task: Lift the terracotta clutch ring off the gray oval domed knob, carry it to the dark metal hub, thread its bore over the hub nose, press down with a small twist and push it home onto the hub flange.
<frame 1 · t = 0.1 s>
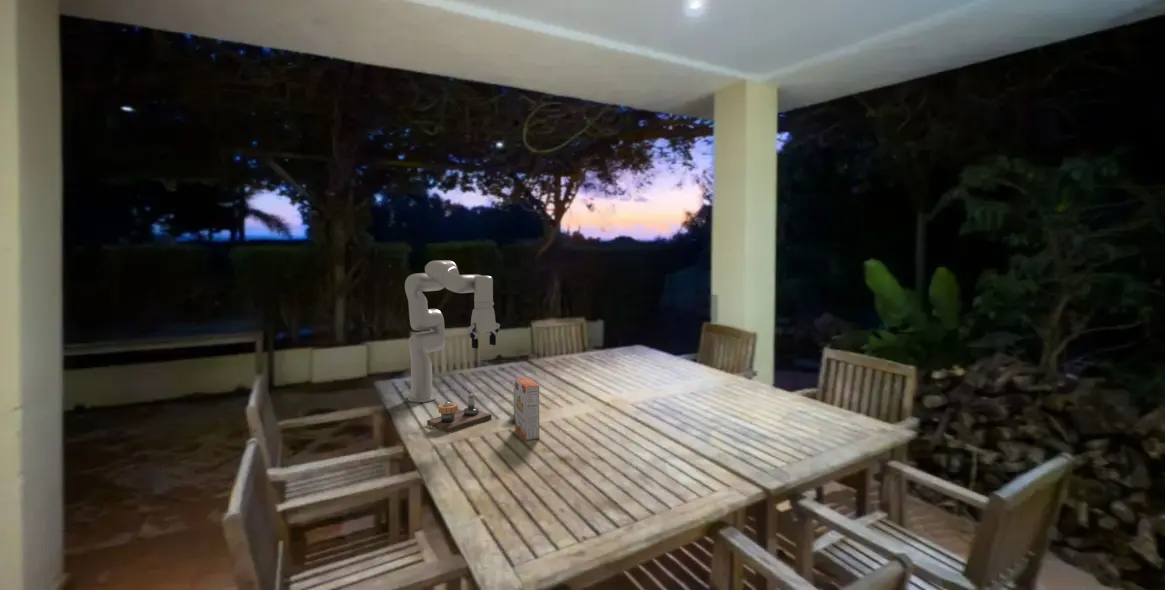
hand: (483, 346, 219), 31 cm above the table, tool pointing down, fingers open, 9 cm apart
clutch ring: (447, 411, 213), point 6 cm above the table, touching gray oval domed knob
cracker box: (526, 434, 205), on the table
gray oval domed knob: (447, 425, 214), resting on base board
supplement box: (523, 414, 230), on the table
hub: (471, 418, 223), resting on base board
base board: (459, 422, 218), on the table
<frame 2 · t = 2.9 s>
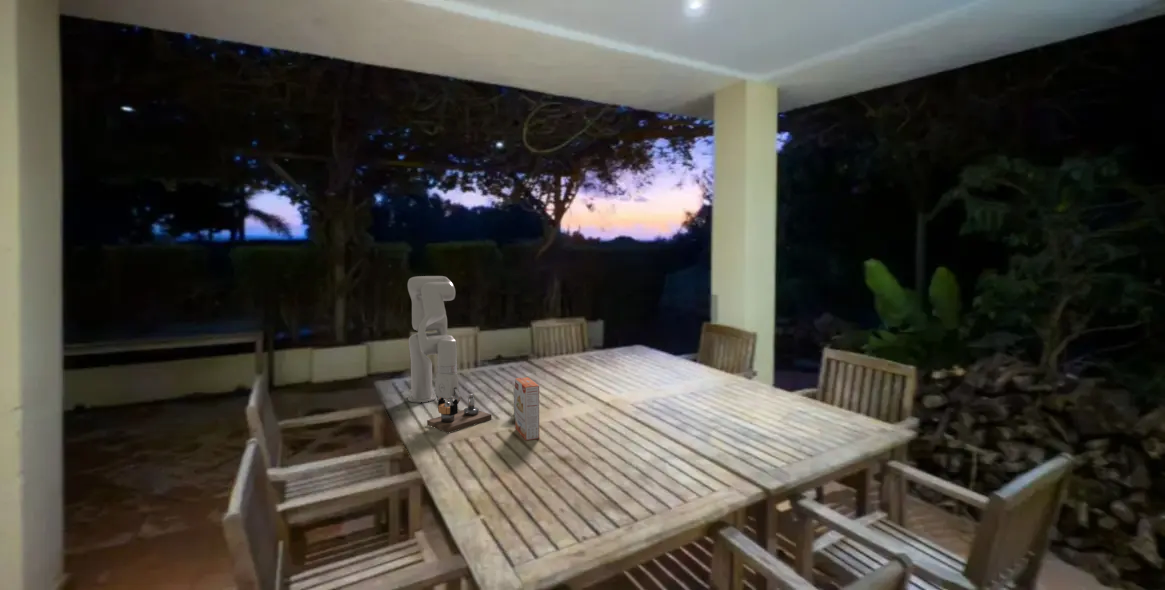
hand: (447, 412, 213), 6 cm above the table, tool pointing down, fingers closed on clutch ring, 7 cm apart
clutch ring: (447, 411, 213), point 6 cm above the table, touching gripper, gray oval domed knob
everything else where it was.
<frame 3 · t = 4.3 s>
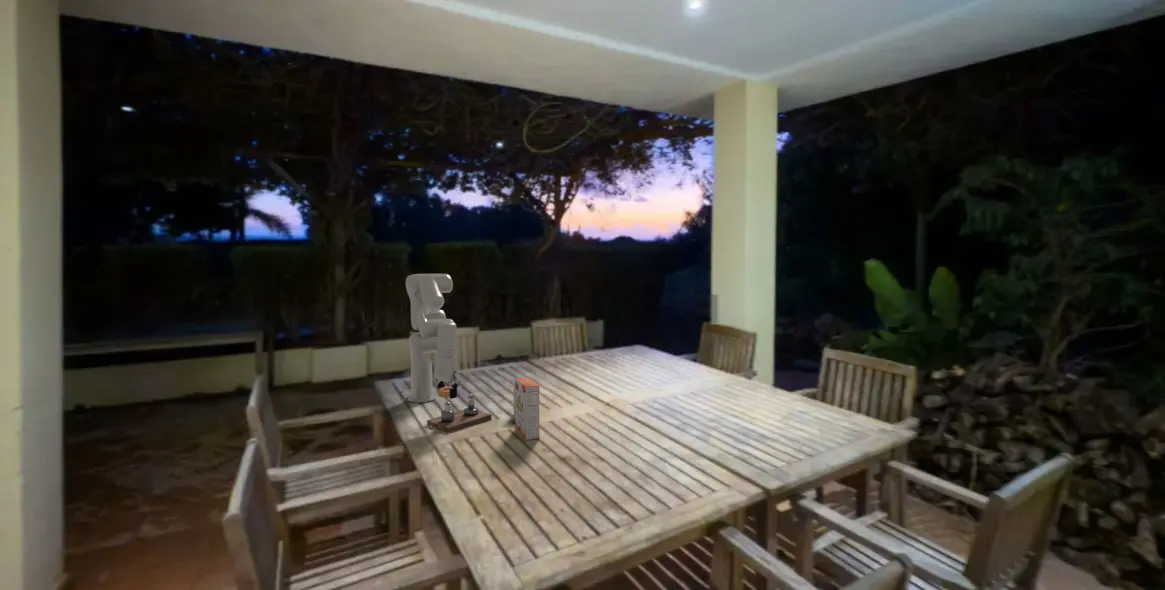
hand: (447, 395, 213), 12 cm above the table, tool pointing down, fingers closed on clutch ring, 7 cm apart
clutch ring: (447, 394, 213), point 13 cm above the table, touching gripper
everything else where it was.
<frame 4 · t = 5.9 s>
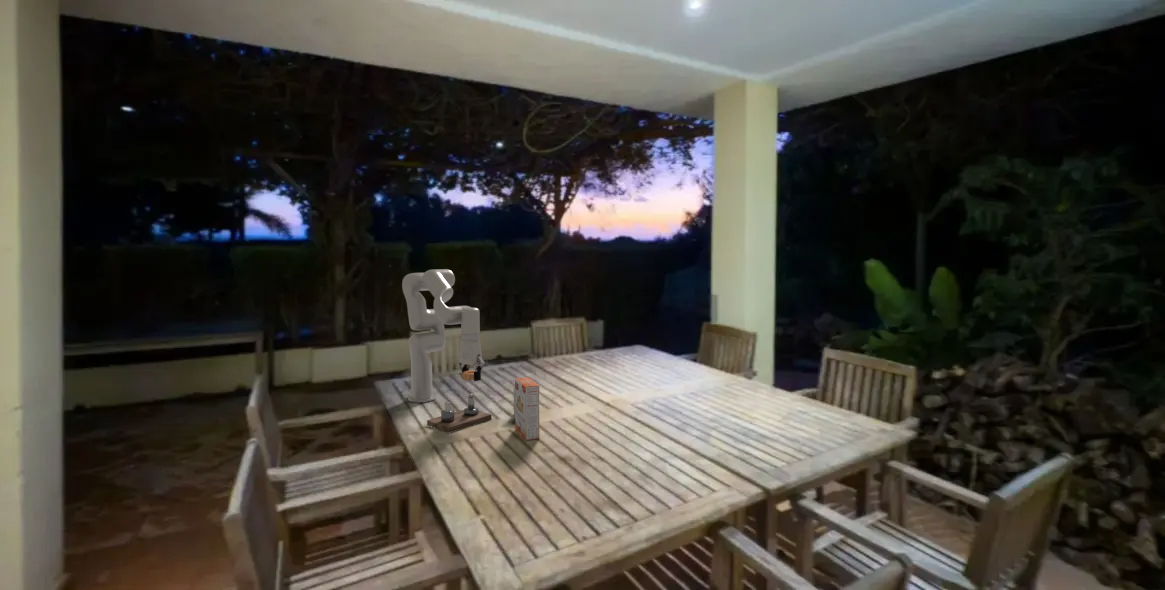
hand: (471, 378, 221), 17 cm above the table, tool pointing down, fingers closed on clutch ring, 7 cm apart
clutch ring: (471, 378, 221), point 18 cm above the table, touching gripper
everything else where it was.
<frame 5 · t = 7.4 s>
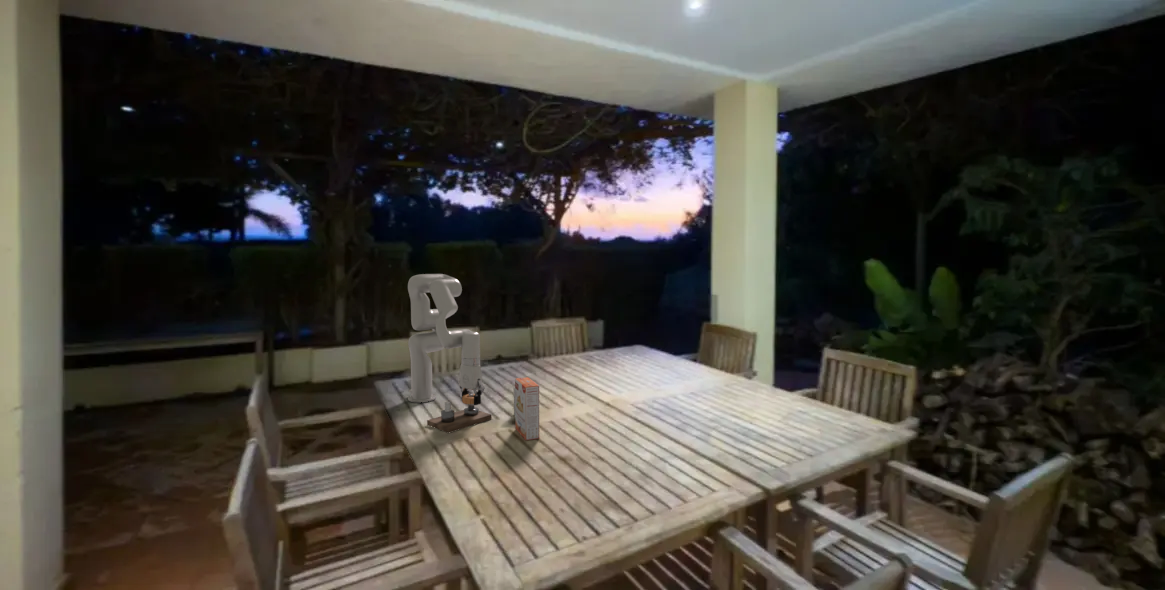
hand: (471, 402, 222), 7 cm above the table, tool pointing down, fingers closed on clutch ring, 7 cm apart
clutch ring: (471, 401, 222), point 7 cm above the table, touching gripper
everything else where it was.
when the fingers open (4 cm above the table, at t = 8.9 s): clutch ring stays where it is, resting on hub.
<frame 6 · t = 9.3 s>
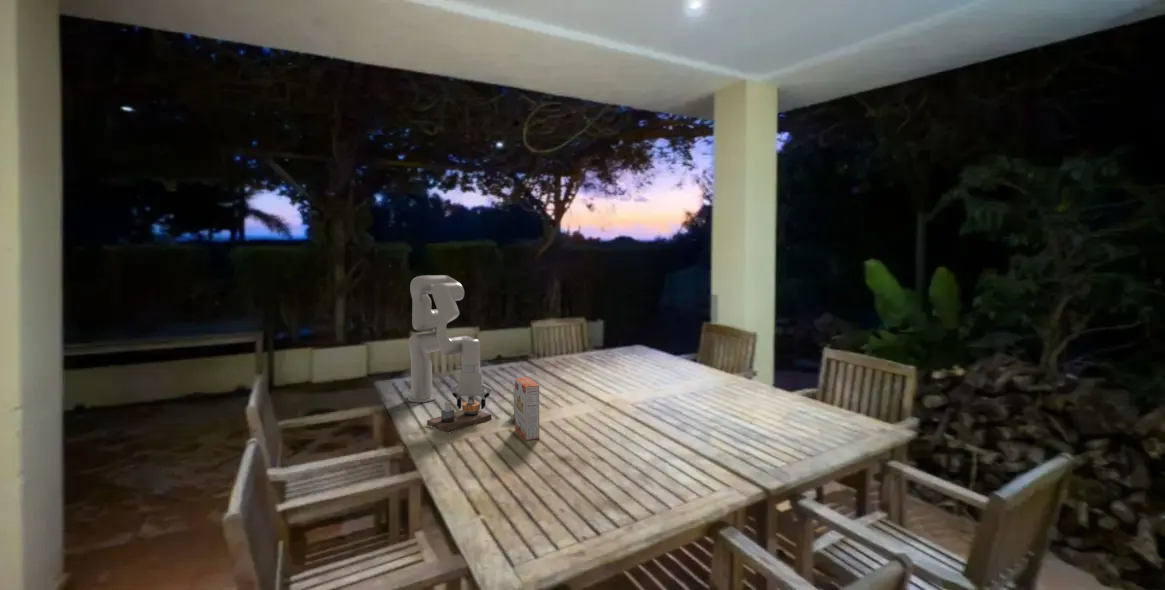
hand: (471, 408, 223), 5 cm above the table, tool pointing down, fingers open, 9 cm apart
clutch ring: (471, 409, 223), point 4 cm above the table, touching hub
everything else where it was.
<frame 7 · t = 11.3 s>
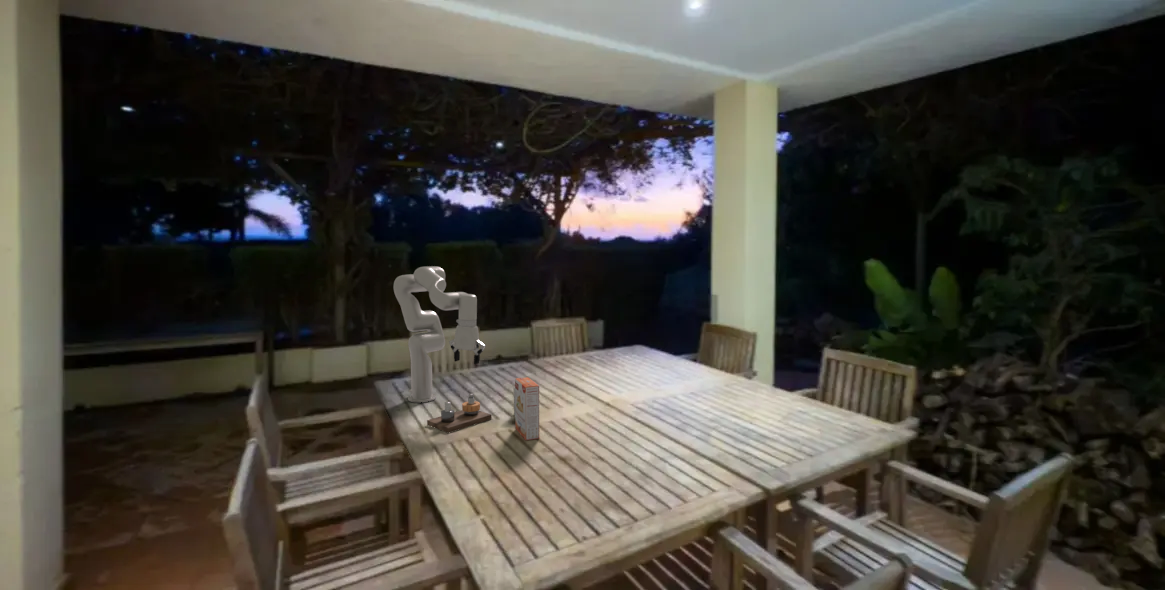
hand: (466, 362, 228), 23 cm above the table, tool pointing down, fingers open, 9 cm apart
nothing on the table moved.
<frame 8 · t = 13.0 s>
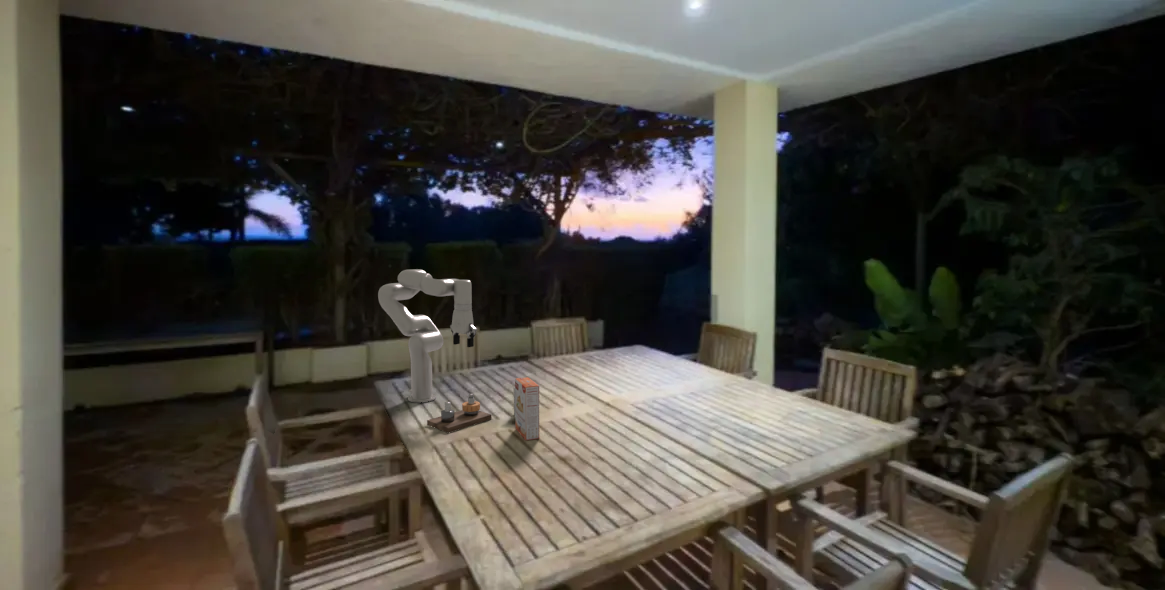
hand: (463, 345, 236), 28 cm above the table, tool pointing down, fingers open, 9 cm apart
nothing on the table moved.
at the end: clutch ring 0.1 cm off-centre on the hub, point 4.0 cm above the hub's base; clutch ring tilted 0°; the gripper is holding nothing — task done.
